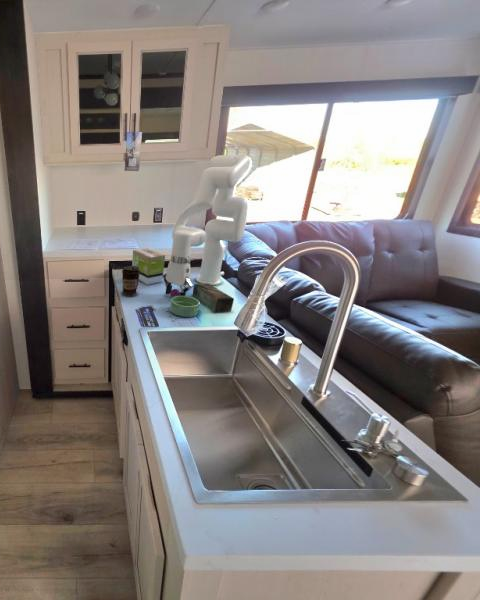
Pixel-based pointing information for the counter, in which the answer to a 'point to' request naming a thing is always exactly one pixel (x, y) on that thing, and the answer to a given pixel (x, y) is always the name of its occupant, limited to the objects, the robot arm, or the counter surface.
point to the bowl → (184, 306)
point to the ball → (175, 293)
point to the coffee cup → (130, 280)
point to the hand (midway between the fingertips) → (174, 296)
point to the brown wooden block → (212, 297)
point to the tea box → (149, 265)
